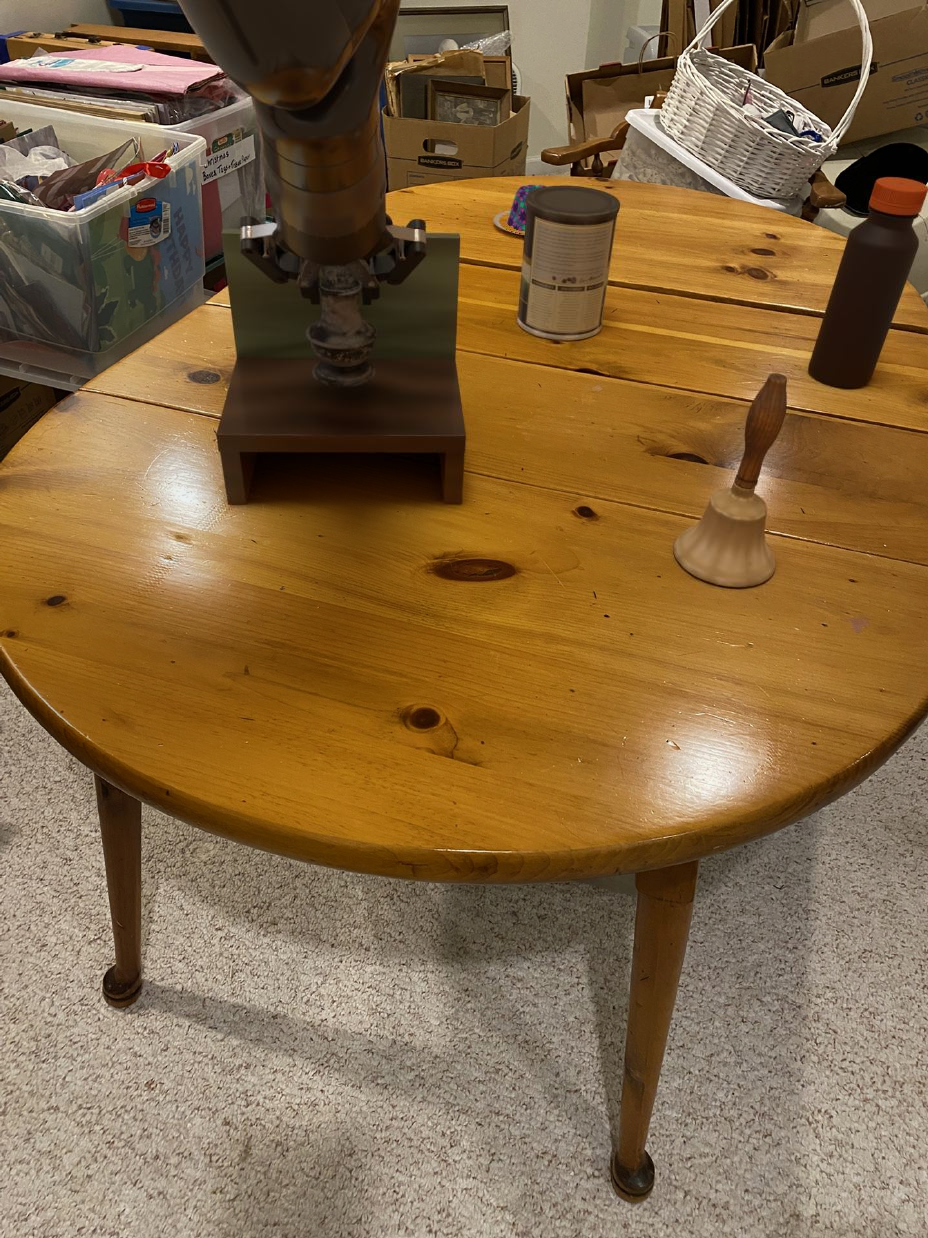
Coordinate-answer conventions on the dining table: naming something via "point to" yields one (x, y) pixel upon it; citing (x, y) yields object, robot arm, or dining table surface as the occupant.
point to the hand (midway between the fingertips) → (341, 293)
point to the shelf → (344, 416)
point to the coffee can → (566, 261)
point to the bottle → (868, 285)
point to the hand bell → (739, 507)
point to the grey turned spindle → (341, 331)
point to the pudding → (517, 209)
